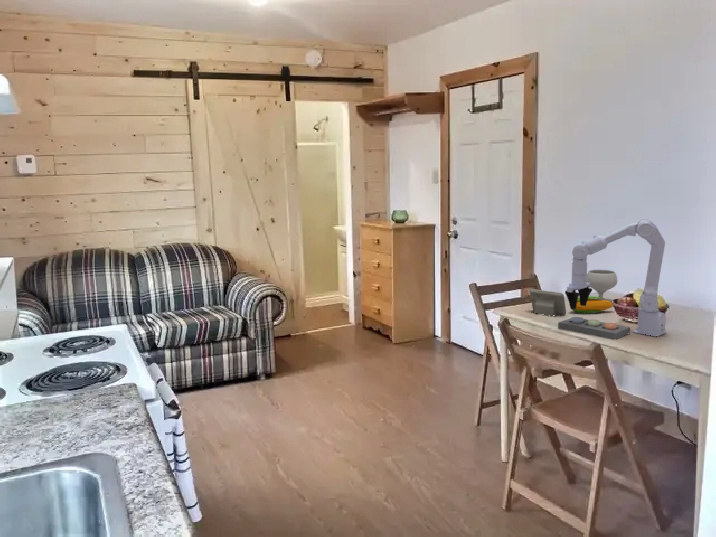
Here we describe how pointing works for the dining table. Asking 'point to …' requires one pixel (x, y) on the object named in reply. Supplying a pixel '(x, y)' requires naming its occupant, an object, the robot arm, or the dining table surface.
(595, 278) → the chalice
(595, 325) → the button sage
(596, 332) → the button panel
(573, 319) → the button slate
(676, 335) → the dining table surface
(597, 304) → the corn
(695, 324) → the dining table surface
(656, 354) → the dining table surface
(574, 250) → the robot arm
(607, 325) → the button terracotta
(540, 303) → the digital clock
